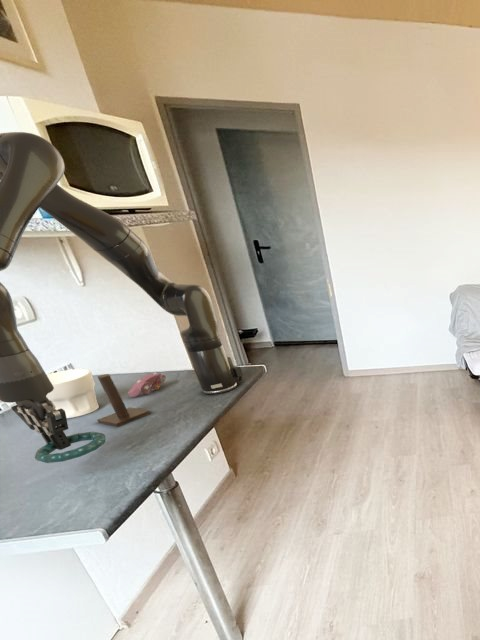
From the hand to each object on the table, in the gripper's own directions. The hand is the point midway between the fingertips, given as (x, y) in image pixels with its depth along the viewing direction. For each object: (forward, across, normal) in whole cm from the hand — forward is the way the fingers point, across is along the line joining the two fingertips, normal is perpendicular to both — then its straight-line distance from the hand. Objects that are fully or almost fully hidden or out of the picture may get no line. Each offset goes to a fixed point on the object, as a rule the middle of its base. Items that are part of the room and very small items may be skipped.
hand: (60, 446), depth 91 cm
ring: (-1, -4, 0) cm, 4 cm away
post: (+7, +19, -21) cm, 29 cm away
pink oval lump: (+7, +32, -36) cm, 48 cm away
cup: (+7, +37, -20) cm, 42 cm away
